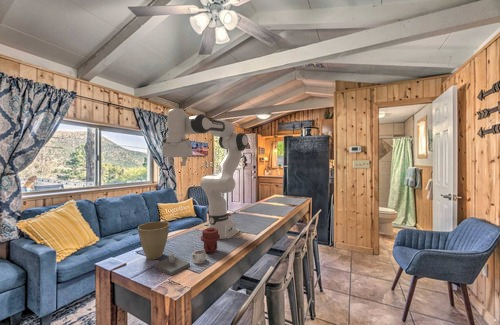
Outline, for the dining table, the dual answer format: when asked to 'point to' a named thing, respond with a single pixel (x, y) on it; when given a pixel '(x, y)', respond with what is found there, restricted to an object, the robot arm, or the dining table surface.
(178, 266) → the shaft base
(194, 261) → the steel collar
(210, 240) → the mechanical component
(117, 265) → the dining table surface
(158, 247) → the plant pot
